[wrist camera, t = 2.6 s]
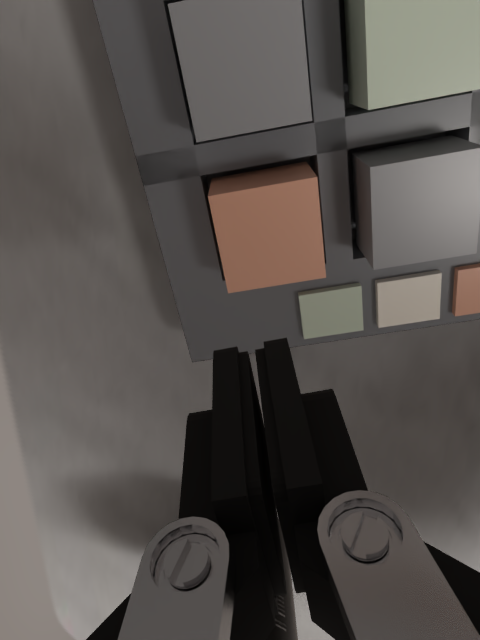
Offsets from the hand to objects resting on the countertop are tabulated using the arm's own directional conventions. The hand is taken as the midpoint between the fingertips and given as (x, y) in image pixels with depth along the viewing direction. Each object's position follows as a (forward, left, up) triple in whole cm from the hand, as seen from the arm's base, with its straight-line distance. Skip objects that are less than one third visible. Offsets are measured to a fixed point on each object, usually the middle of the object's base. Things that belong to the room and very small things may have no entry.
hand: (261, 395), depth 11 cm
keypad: (-6, -3, -10) cm, 12 cm away
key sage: (-6, -7, -8) cm, 12 cm away
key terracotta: (-1, -2, -8) cm, 9 cm away
